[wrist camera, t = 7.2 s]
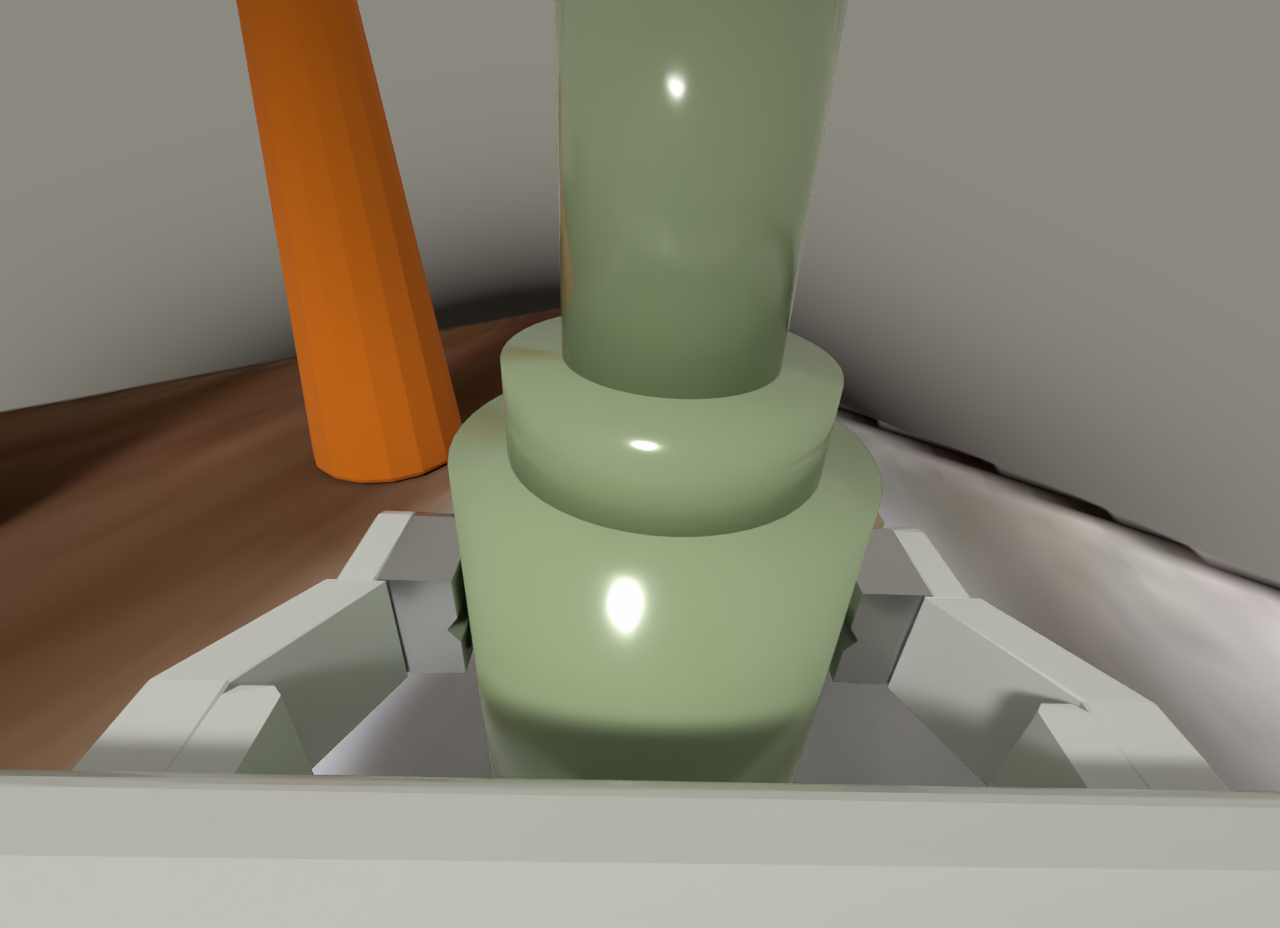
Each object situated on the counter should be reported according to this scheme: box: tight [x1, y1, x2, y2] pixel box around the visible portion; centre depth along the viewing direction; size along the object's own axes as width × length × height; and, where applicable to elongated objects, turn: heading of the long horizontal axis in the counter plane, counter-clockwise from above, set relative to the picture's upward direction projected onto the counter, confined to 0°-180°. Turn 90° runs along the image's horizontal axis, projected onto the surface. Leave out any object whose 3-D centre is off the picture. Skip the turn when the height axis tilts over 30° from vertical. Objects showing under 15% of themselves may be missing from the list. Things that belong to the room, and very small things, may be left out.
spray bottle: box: [236, 0, 462, 484], centre depth 24 cm, size 7×11×26 cm, turn 20°
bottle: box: [448, 0, 882, 783], centre depth 9 cm, size 5×5×16 cm
